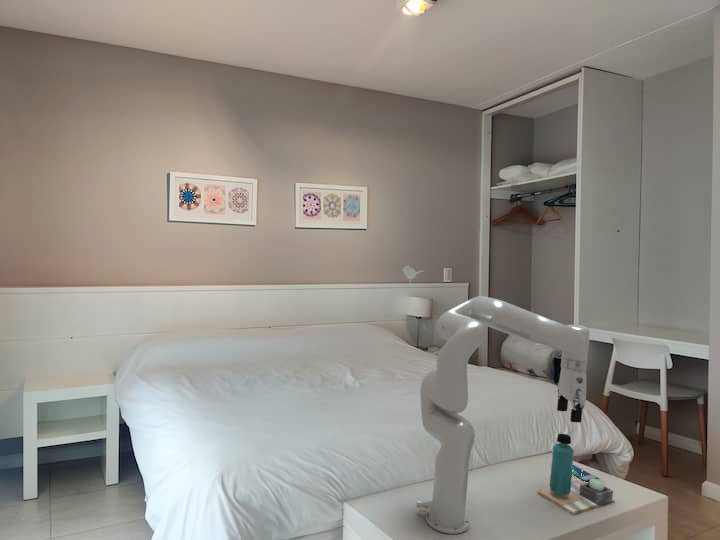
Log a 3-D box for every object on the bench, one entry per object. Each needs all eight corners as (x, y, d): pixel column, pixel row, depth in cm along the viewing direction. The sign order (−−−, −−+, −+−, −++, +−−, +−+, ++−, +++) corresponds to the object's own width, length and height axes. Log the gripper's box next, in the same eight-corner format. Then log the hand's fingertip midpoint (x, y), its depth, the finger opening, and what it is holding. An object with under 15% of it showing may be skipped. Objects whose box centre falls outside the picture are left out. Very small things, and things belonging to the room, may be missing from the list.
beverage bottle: (571, 501, 163) (577, 440, 162) (549, 498, 165) (555, 437, 163) (567, 491, 170) (573, 432, 168) (546, 488, 171) (552, 430, 170)
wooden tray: (573, 515, 157) (574, 502, 157) (537, 493, 170) (538, 481, 169) (614, 501, 167) (616, 489, 167) (577, 482, 179) (578, 470, 179)
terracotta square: (561, 507, 161) (561, 504, 161) (538, 494, 169) (539, 491, 169) (580, 502, 166) (580, 499, 166) (557, 488, 174) (557, 486, 173)
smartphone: (587, 482, 179) (552, 463, 192) (586, 484, 179) (552, 465, 192) (600, 478, 183) (565, 460, 196) (600, 480, 183) (565, 462, 196)
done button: (597, 495, 165) (598, 486, 164) (585, 488, 168) (586, 479, 168) (606, 492, 167) (607, 483, 166) (594, 486, 171) (595, 477, 170)
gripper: (598, 372, 155) (593, 427, 157) (572, 357, 173) (568, 407, 174) (574, 370, 155) (569, 426, 156) (550, 356, 172) (546, 406, 174)
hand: (568, 416), depth 165 cm, fingers open, 9 cm apart
